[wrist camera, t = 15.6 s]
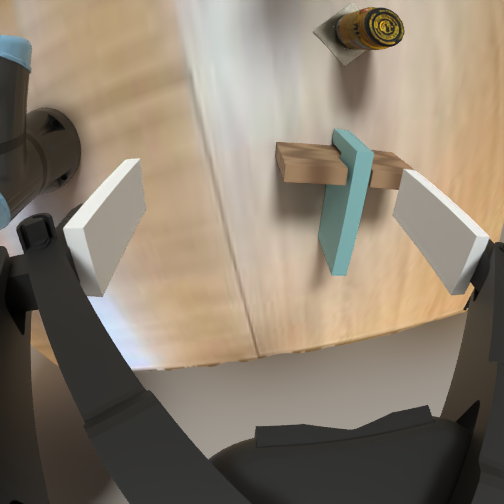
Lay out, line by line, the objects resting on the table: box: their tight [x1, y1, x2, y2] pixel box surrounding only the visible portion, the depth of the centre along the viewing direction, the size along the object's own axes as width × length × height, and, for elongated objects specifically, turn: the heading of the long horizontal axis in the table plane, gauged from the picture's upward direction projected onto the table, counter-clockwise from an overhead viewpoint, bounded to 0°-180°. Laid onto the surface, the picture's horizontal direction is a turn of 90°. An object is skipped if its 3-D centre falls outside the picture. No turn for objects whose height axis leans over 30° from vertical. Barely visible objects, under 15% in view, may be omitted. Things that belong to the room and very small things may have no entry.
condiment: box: [314, 3, 404, 66], centre depth 33 cm, size 7×8×12 cm
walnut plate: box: [275, 142, 414, 190], centre depth 44 cm, size 20×2×11 cm, turn 88°
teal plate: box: [318, 129, 374, 276], centre depth 47 cm, size 20×2×11 cm, turn 178°
